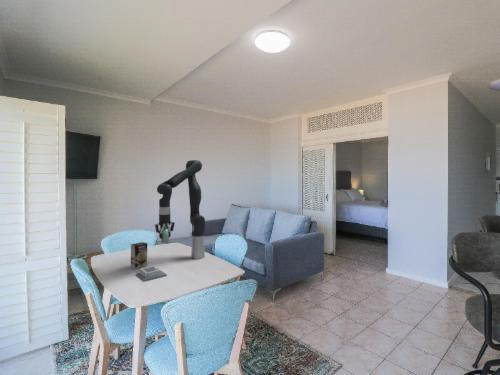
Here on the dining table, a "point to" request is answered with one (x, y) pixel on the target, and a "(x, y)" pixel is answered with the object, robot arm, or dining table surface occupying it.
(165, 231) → the green bottle
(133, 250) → the coffee box
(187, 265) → the dining table surface
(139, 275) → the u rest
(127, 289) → the dining table surface
